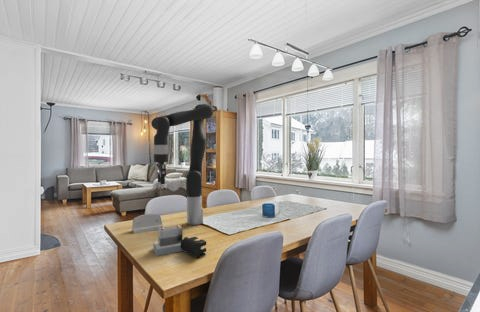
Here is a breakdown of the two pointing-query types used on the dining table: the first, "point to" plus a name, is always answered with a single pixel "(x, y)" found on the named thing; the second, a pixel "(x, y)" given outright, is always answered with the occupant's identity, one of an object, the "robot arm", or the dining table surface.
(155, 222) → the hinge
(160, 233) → the housing
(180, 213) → the dining table surface
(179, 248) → the stand
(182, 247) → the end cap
